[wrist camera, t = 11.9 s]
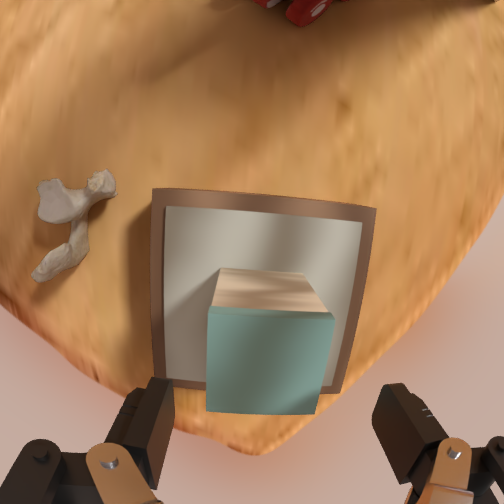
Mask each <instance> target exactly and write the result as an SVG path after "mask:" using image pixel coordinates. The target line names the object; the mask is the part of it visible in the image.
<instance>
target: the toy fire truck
mask: <svg viewBox="0 0 504 504" xmlns="http://www.w3.org/2000/svg"><path fill="white" fill-rule="evenodd" d="M252 1H254V2H255V3H257V4H259V5H260V6H262V7H264V8H271V7H273V6H274V5H275V4H277V3H279V2H280V1H282V0H252ZM332 1H333V0H293V1H292V2H291V4H290V5H289V7H288V8H287V10H286V17H287V18H288V19H289V20H290V21H292V22H293V23H294V24H296V25H297V26H299V27H303V26H306V25H308V24H310V23H311V22H313V21H314V20H316V19H317V18H318V17H319V16H320V15H321V14H322V13H323V12H324V11H325V10H326V9H327V8H328V7H329V6H330V4H331V3H332ZM341 1H349V0H341Z"/></svg>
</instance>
